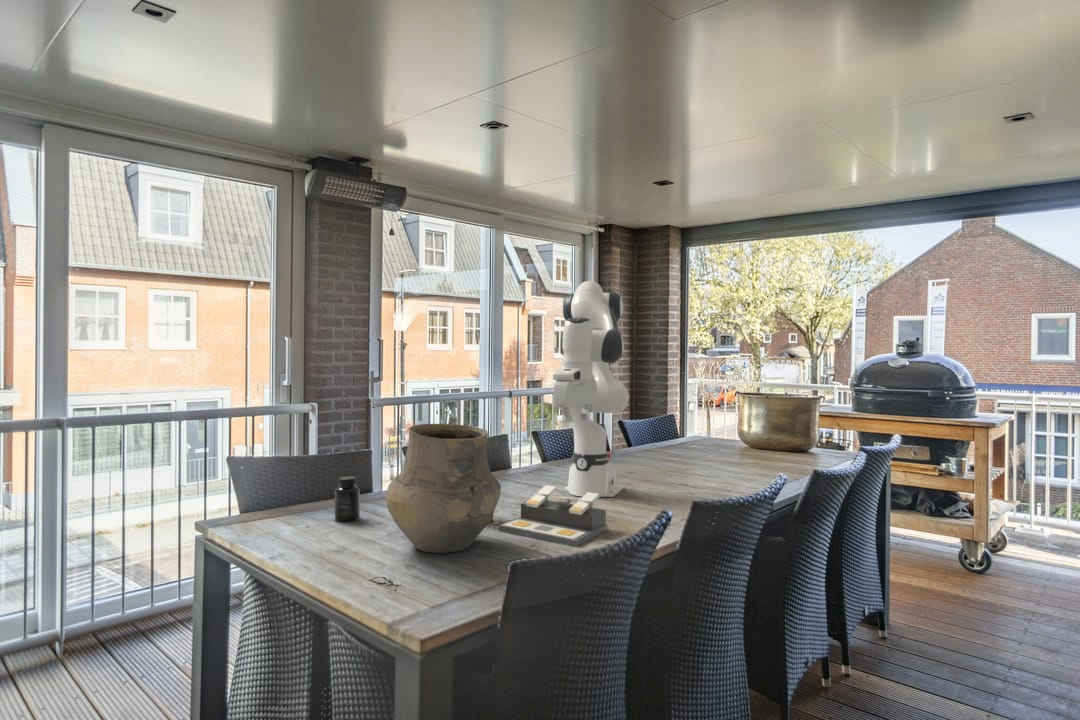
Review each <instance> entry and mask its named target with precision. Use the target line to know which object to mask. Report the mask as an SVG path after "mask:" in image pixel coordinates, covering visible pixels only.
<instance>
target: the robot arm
mask: <svg viewBox="0 0 1080 720" xmlns="http://www.w3.org/2000/svg"><path fill="white" fill-rule="evenodd" d="M562 301H563V302H562V304H561V313H562V316H563V319H564V320H565V321H564V326H563V332H562V336H561V337H560V354H561V355H562V356H563V358H562V362H561V366H560V367H559V368H557V370H555V371H554V372H553V375H552V379H553V380H554V384H553V404H554V406H555V407H557V408H558V409H559V410H560V411H561V412H562V414H563V417H564V423H571V427H572V431H573V444H574V445H573V450H574V451H573V452H572V463H573V464H572V465H570V467H569V473H568V484H567V486H565V488H564V490H565V491H567V492H568V494H569V495H572V496H575V497H581V498H582V497H583V496H584V495H585V494H586V493H587V492H591V493H597V494H599V498H602V497H604V498H605V497H606V498H607V497H608V498H614V497H616V496H617V495H618V494H619V493H620V492H621V491H622V490H624V485H621V484H618V479H617V477H618V474H617V472H616V470H614V469H613V467H612V466H611V465H610V464H609V462H610V461H609V459H611V458H612V452H611V451H610V452H608V451H607V432H606V429H605V428H604V426H602V425H601V424H599V423H598V422H595V421H593V420H592V419H591V418H590V417H589V416H590V415H589V414H590V413H594V414H595V413H596V414H612V413H613V414H614V413H618V412H622V411H624V410H625V409H626V407H627V406H628V403H629V398H630V396H629V395H630V394H629V391H628V389H627V387H626V386H625V385H624V383H622V382H620V381H619V380H617V378H616V377H615V376H614V375H613V373H612V372H611V369H610V365H609V364H615V363H616V362H618V361H619V360H620V359H621V358H622V357H623V354H624V351H625V350H624V349H625V348H624V347H625V346H624V344H625V343H624V339H623V336H622V334H621V331H620V330H619V329H620V328H619V324H618V321H619V320H620V319H621V318H622V314H623V312H624V303H623V300H622V297H621V295H620V294H619V293H616V292H612V291H610V292H604V290H603V288H602V286H601V285H600V284H599V283H598V282H596V281H593V280H585V281H583V282H582V283H580V284H579V285H578V286H577V288H576V289H575V291H574V293H570V294H568V295H566V296H565V297H564V298H563V300H562Z"/></svg>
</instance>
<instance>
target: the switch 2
mask: <svg viewBox="0 0 1080 720" xmlns="http://www.w3.org/2000/svg"><path fill="white" fill-rule="evenodd" d="M548 500H549V501H555V504H556V505H560V506H566V507H569V506H570V504H571V503H577V502H578V500H579V498H576V497H568V496H558V495H557V496H554V495H550V496H548Z"/></svg>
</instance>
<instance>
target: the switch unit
mask: <svg viewBox="0 0 1080 720" xmlns="http://www.w3.org/2000/svg"><path fill="white" fill-rule="evenodd" d="M526 502H527V501H525V502H522V503H520V516H519V517H517V518H514V519H510V521H509V520H508V521H506V522H503V523H501V524H498V531H499V532H501V533H508V534H513V535H518V536H522V537H526V538H527V537H528V538H532V539H537V540H542V541H546V542H551V543H556V542H557V544H560V543H563V544H562V545H565V544H567V546H571V547H575V548H576V547H577V546H579V545H582V544H583V543H586V542H588V541H590V540H591V539H593V538H595V537H597V536H599V535H601V534H602V532H603V533H605V532H606V531H608V524H606V523H607V519H606V518H607V517H606V516H607V514H606V513H607V509H601V508H597V507H596V508H595V507H592V510H586V511H585V512H584V513H583V514H582V515H579V514H573V513H569V509H570V508H571V507H572V506H573V505H574V504H571V503H570V506H569V507H566V506H560V505H556V504H555V501H551V500H549V502H548V503H542V504H541V505H540V506H539V507H538V508H535V507H529V506H526ZM600 533H601V534H600ZM598 534H599V535H598ZM596 535H597V536H596ZM594 536H595V537H594Z"/></svg>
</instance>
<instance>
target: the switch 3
mask: <svg viewBox="0 0 1080 720" xmlns="http://www.w3.org/2000/svg"><path fill="white" fill-rule="evenodd" d="M599 498H600V497H599V494H597V493H591V492H587V493H586V494H585V495H584V496H583V497H582V496H581V498H579V499H578V502H575V503H574V504H573V506H572V507H571V508H570V509H569V513H573V514H579V515H582V514H583V513H584V512H585V511H586V510H592V508H594V506H593V504H594V503H595V502H596V501H597V500H598V499H599Z"/></svg>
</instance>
